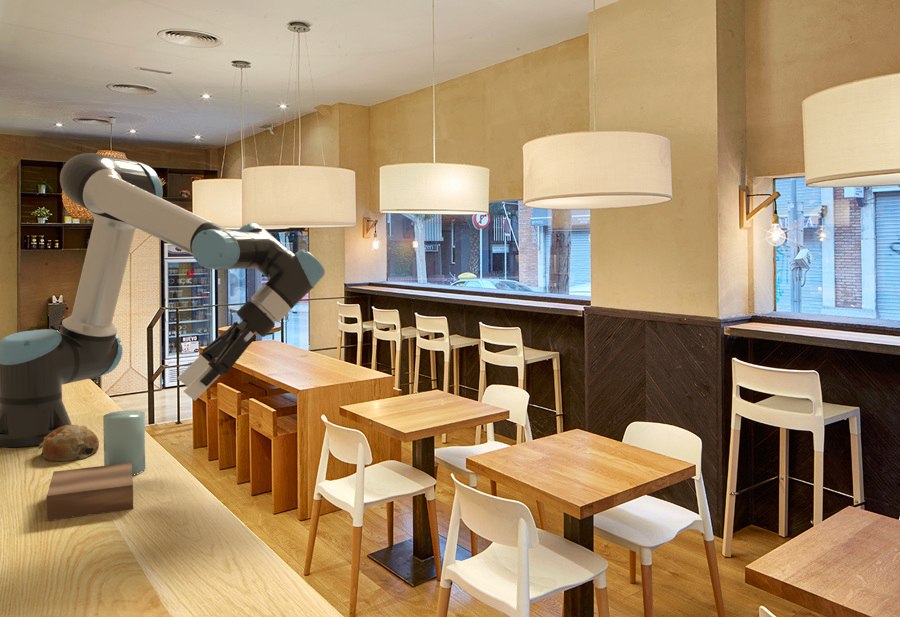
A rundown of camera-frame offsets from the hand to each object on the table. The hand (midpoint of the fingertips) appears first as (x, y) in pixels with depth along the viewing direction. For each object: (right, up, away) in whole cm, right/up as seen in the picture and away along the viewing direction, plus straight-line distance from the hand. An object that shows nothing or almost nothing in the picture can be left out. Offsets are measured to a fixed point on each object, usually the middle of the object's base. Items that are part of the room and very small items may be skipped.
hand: (185, 389), depth 125 cm
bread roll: (-26, -14, +5) cm, 30 cm away
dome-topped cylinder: (-10, -15, -4) cm, 19 cm away
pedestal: (-8, -17, -18) cm, 26 cm away
